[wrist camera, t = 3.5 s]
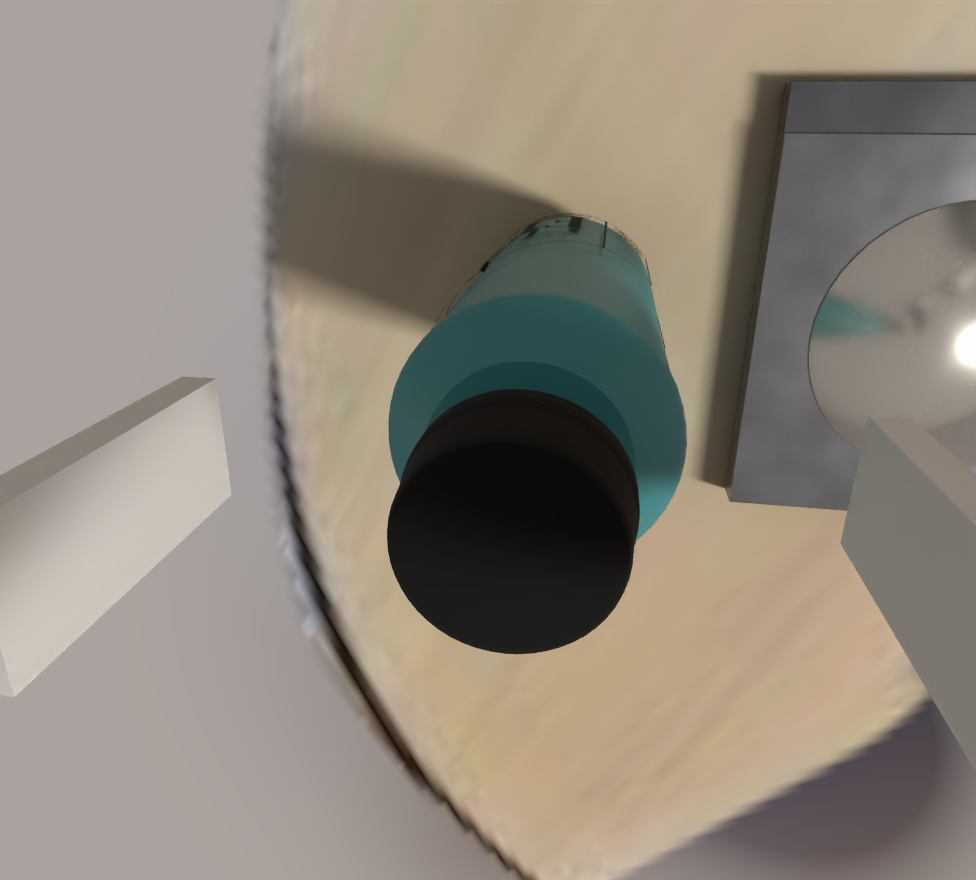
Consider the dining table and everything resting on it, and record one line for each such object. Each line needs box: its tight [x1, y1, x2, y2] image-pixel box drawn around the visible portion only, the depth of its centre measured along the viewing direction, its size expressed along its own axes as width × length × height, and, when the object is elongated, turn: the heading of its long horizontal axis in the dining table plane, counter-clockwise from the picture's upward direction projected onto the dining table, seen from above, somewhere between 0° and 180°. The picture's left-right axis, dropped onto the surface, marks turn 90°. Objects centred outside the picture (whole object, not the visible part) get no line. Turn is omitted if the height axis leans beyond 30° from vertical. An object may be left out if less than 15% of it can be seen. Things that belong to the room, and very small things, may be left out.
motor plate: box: [725, 81, 976, 511], centre depth 27 cm, size 16×14×1 cm
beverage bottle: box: [387, 213, 687, 654], centre depth 20 cm, size 6×7×20 cm
